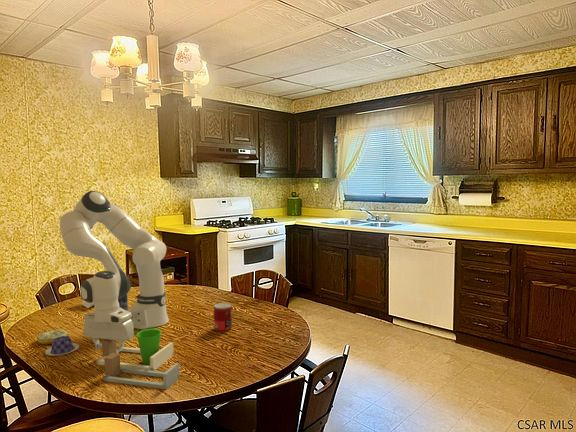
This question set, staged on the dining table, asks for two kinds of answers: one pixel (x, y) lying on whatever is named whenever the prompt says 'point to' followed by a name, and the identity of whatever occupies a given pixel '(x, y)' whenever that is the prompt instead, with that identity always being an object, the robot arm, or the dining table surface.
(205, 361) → the dining table surface
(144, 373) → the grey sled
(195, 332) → the dining table surface
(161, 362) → the frame
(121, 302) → the soda can
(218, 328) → the canned food
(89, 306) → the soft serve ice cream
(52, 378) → the dining table surface
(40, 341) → the decorated donut
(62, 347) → the checkered hat
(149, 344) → the cup
